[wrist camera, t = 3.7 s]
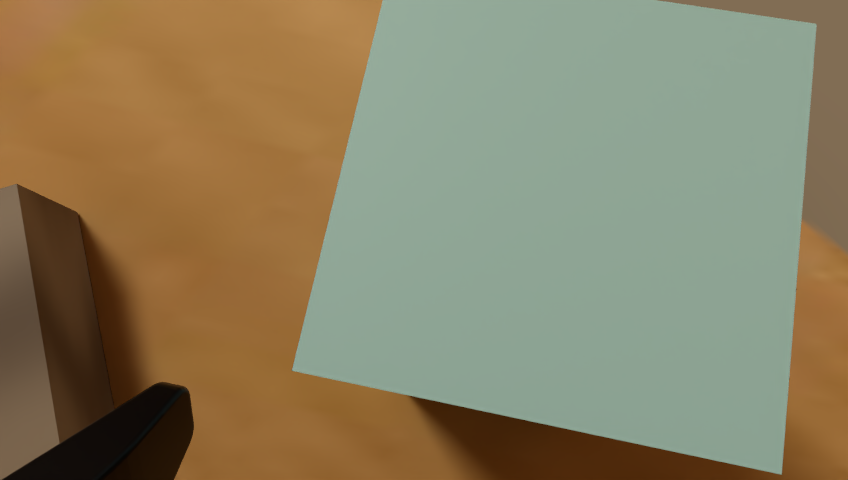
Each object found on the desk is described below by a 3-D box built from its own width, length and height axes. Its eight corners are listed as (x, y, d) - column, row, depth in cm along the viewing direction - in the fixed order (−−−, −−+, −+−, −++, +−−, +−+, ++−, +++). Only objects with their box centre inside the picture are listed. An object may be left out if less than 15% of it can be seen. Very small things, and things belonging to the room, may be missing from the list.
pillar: (563, 418, 19) (781, 474, 6) (399, 383, 19) (291, 371, 7) (588, 255, 20) (816, 23, 7) (432, 226, 20) (392, -39, 8)
